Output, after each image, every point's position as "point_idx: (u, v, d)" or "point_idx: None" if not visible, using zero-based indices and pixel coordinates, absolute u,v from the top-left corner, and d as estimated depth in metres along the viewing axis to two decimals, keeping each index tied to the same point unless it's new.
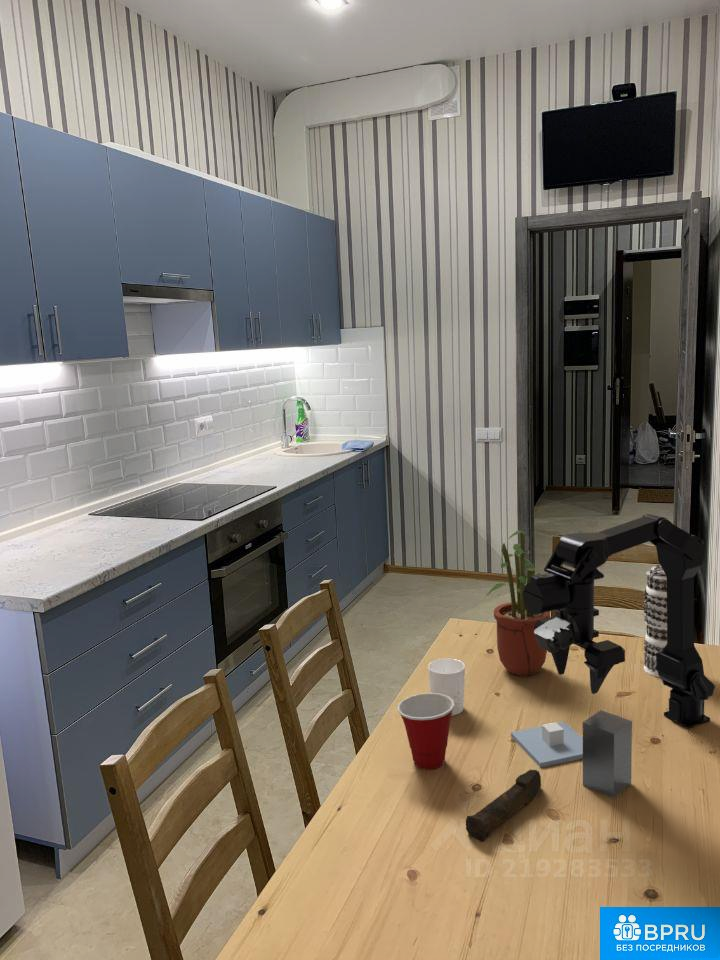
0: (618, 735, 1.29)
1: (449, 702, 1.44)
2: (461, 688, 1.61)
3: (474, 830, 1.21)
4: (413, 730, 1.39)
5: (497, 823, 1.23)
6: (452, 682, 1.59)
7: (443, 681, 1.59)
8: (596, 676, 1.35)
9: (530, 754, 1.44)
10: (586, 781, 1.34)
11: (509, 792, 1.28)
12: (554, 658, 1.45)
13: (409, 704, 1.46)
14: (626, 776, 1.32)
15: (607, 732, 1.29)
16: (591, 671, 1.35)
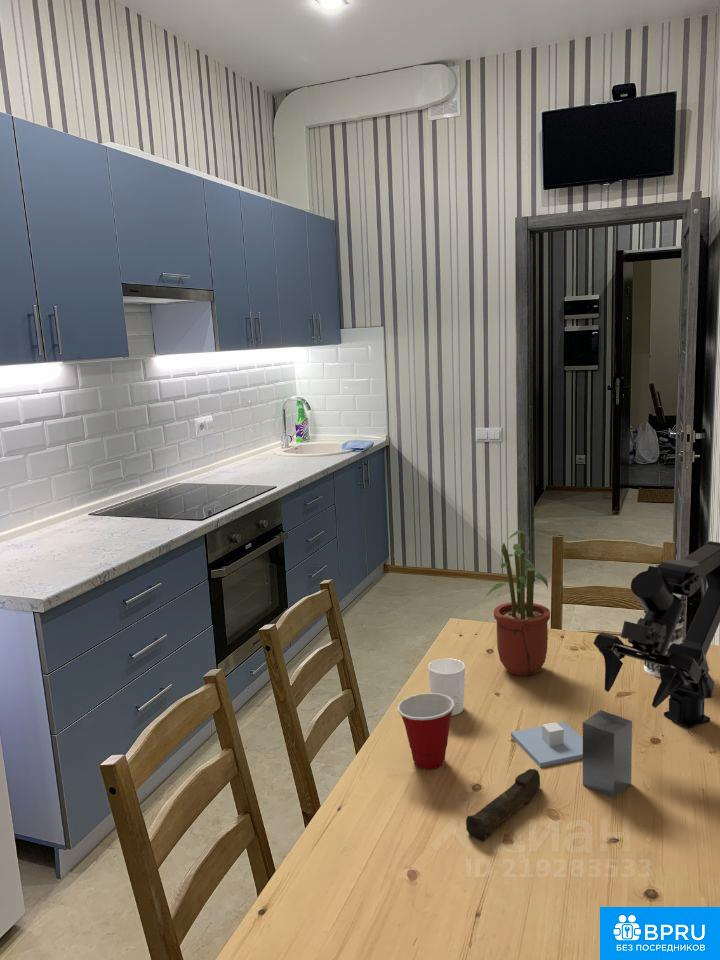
0: (618, 735, 1.29)
1: (449, 702, 1.43)
2: (461, 688, 1.61)
3: (475, 830, 1.21)
4: (413, 730, 1.39)
5: (497, 823, 1.23)
6: (452, 682, 1.59)
7: (443, 681, 1.59)
8: (667, 687, 1.33)
9: (530, 754, 1.44)
10: (586, 781, 1.34)
11: (509, 792, 1.28)
12: (607, 671, 1.41)
13: (409, 704, 1.46)
14: (626, 776, 1.32)
15: (607, 732, 1.29)
16: (664, 679, 1.34)
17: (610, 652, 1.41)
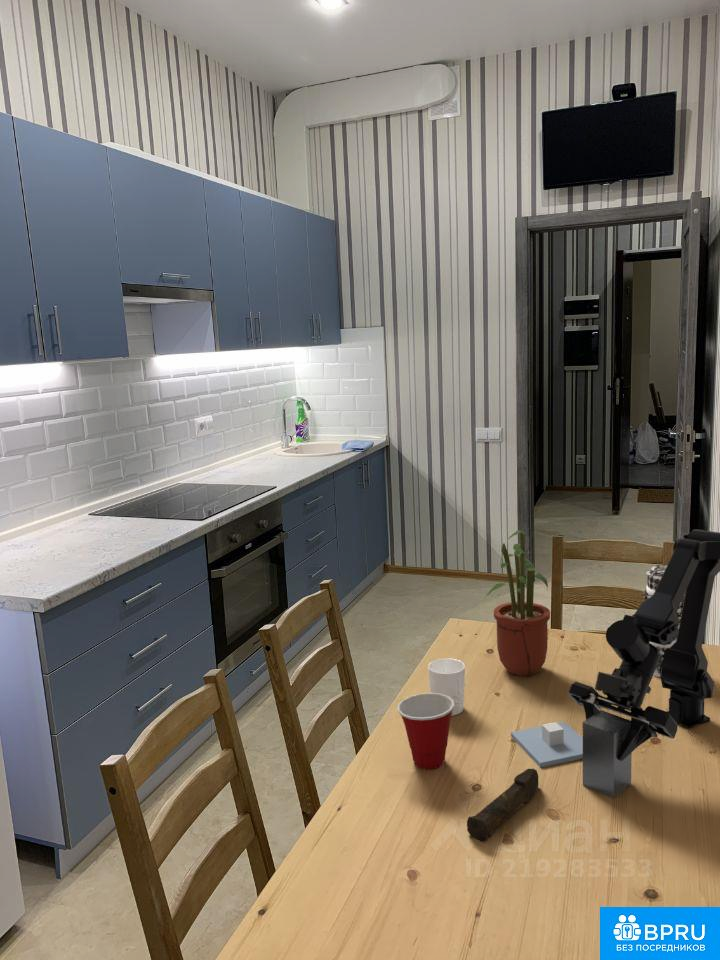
0: (618, 735, 1.29)
1: (449, 702, 1.43)
2: (461, 688, 1.61)
3: (476, 831, 1.21)
4: (413, 730, 1.39)
5: (498, 823, 1.22)
6: (452, 682, 1.59)
7: (443, 681, 1.59)
8: (633, 739, 1.29)
9: (530, 754, 1.44)
10: (586, 782, 1.34)
11: (508, 792, 1.28)
12: None
13: (409, 704, 1.46)
14: (626, 776, 1.32)
15: (607, 732, 1.29)
16: (631, 732, 1.30)
17: (591, 706, 1.35)
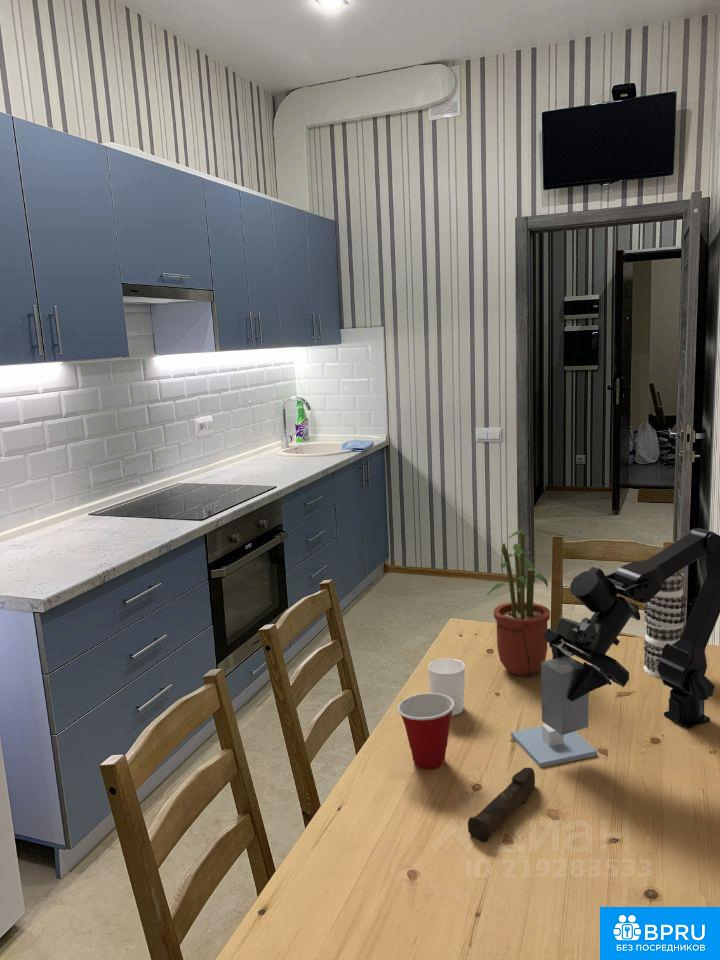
0: (568, 677, 1.37)
1: (449, 702, 1.43)
2: (461, 688, 1.61)
3: (477, 831, 1.20)
4: (413, 730, 1.39)
5: (499, 823, 1.23)
6: (452, 682, 1.59)
7: (443, 681, 1.59)
8: (584, 683, 1.36)
9: (530, 754, 1.44)
10: (544, 718, 1.43)
11: (507, 791, 1.28)
12: None
13: (409, 704, 1.46)
14: (581, 718, 1.39)
15: (557, 672, 1.37)
16: (583, 675, 1.37)
17: (556, 649, 1.44)
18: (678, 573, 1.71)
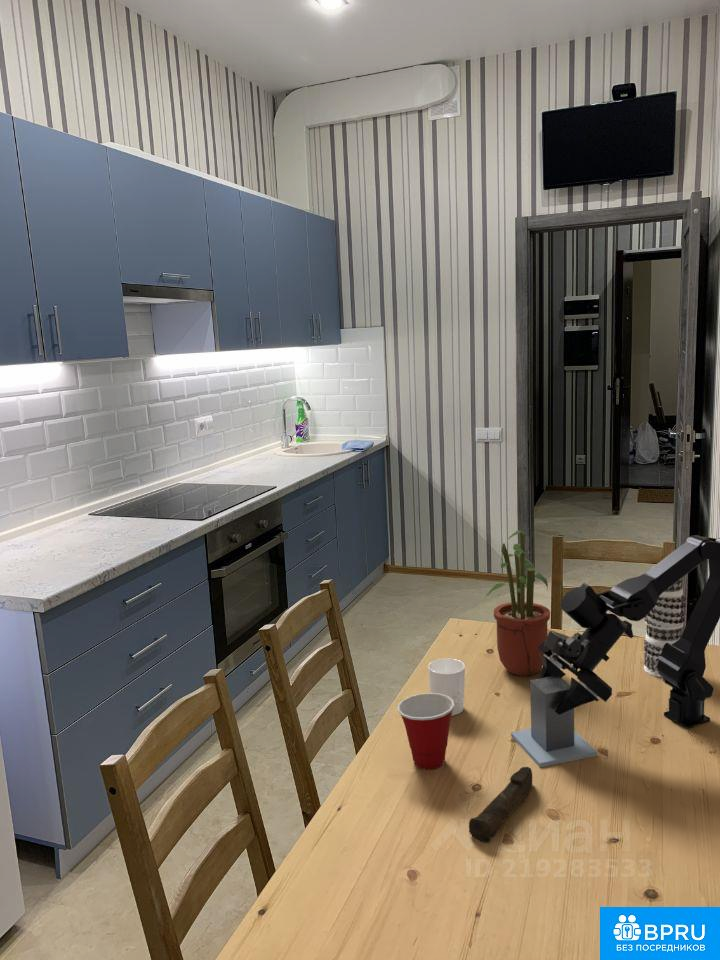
0: (553, 697, 1.42)
1: (449, 702, 1.44)
2: (461, 688, 1.61)
3: (479, 832, 1.20)
4: (413, 730, 1.39)
5: (499, 823, 1.23)
6: (452, 682, 1.59)
7: (443, 681, 1.59)
8: (571, 697, 1.40)
9: (530, 754, 1.44)
10: (532, 734, 1.49)
11: (506, 791, 1.28)
12: (540, 677, 1.50)
13: (409, 704, 1.46)
14: (566, 737, 1.44)
15: (542, 691, 1.43)
16: (570, 690, 1.41)
17: (545, 659, 1.50)
18: None
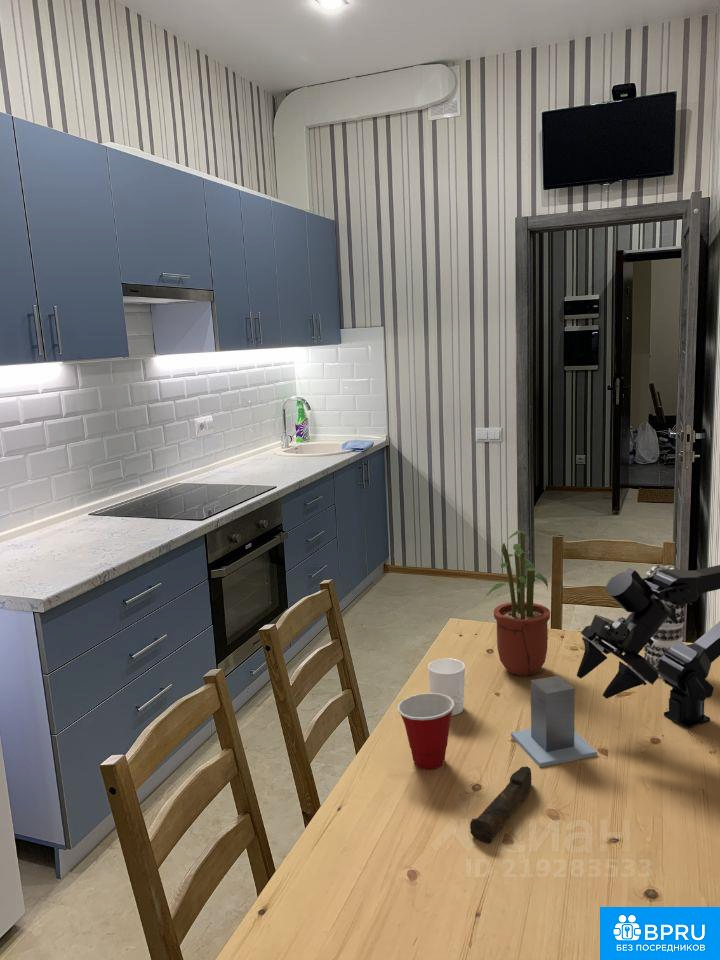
0: (553, 697, 1.42)
1: (449, 702, 1.44)
2: (461, 688, 1.61)
3: (480, 833, 1.20)
4: (413, 730, 1.39)
5: (500, 823, 1.22)
6: (452, 682, 1.59)
7: (443, 681, 1.59)
8: (619, 681, 1.42)
9: (530, 754, 1.44)
10: (532, 734, 1.49)
11: (506, 791, 1.28)
12: (583, 660, 1.52)
13: (409, 704, 1.46)
14: (566, 737, 1.44)
15: (542, 691, 1.43)
16: (618, 674, 1.42)
17: (588, 643, 1.52)
18: None
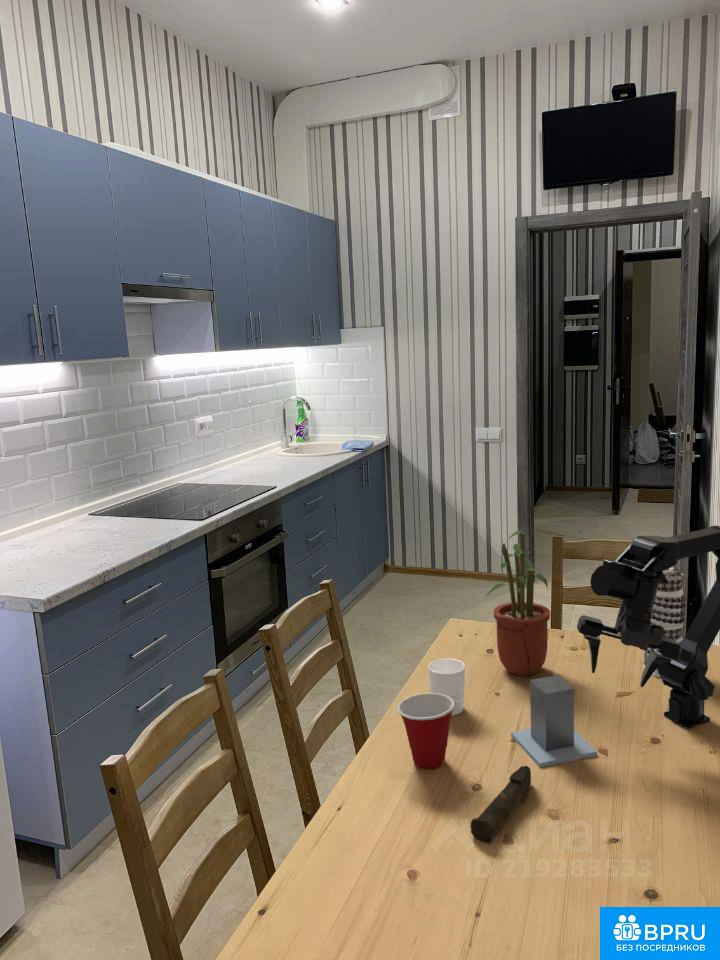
0: (553, 697, 1.42)
1: (449, 702, 1.44)
2: (461, 688, 1.61)
3: (481, 833, 1.20)
4: (413, 730, 1.39)
5: (501, 823, 1.22)
6: (452, 682, 1.59)
7: (443, 681, 1.59)
8: None
9: (530, 754, 1.44)
10: (532, 734, 1.49)
11: (506, 791, 1.28)
12: (594, 657, 1.45)
13: (409, 704, 1.46)
14: (566, 737, 1.44)
15: (542, 691, 1.43)
16: (653, 665, 1.43)
17: (599, 642, 1.44)
18: (678, 573, 1.71)
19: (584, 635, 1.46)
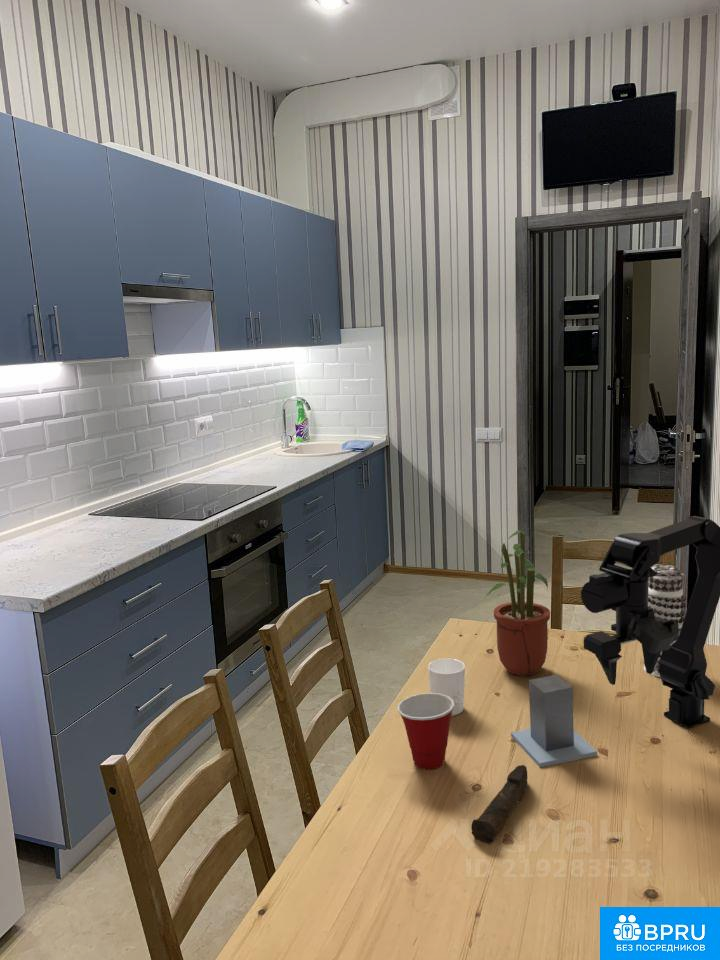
0: (552, 696, 1.42)
1: (449, 702, 1.44)
2: (461, 688, 1.61)
3: (482, 833, 1.20)
4: (413, 730, 1.39)
5: (501, 823, 1.23)
6: (452, 682, 1.59)
7: (443, 681, 1.59)
8: None
9: (530, 754, 1.44)
10: (532, 734, 1.49)
11: (505, 790, 1.28)
12: (614, 670, 1.42)
13: (409, 704, 1.46)
14: (565, 736, 1.45)
15: (541, 691, 1.43)
16: (658, 651, 1.45)
17: (620, 657, 1.40)
18: (678, 573, 1.71)
19: None
